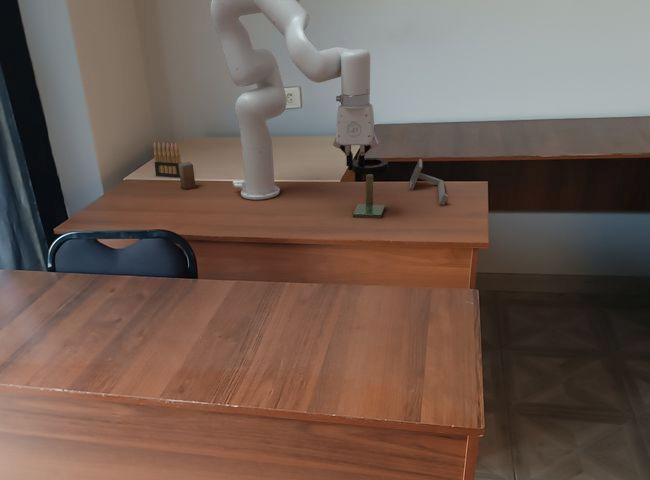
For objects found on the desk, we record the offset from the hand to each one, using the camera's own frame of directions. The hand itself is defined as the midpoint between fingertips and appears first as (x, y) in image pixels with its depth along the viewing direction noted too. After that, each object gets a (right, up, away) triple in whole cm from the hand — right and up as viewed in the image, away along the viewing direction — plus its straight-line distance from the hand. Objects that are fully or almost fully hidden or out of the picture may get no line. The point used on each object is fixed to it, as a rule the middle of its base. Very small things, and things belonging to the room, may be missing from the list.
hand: (355, 168), depth 187 cm
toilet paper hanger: (+24, -3, +17) cm, 30 cm away
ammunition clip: (-59, +11, +52) cm, 79 cm away
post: (+5, -11, +6) cm, 13 cm away
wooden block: (-51, +4, +39) cm, 64 cm away
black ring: (+4, 0, -1) cm, 4 cm away
